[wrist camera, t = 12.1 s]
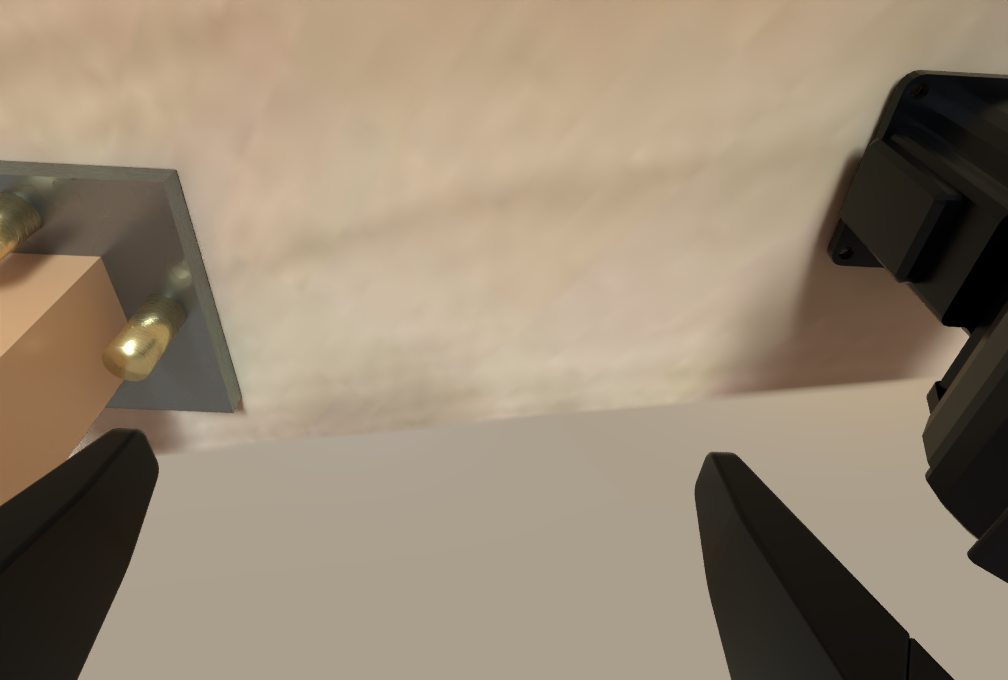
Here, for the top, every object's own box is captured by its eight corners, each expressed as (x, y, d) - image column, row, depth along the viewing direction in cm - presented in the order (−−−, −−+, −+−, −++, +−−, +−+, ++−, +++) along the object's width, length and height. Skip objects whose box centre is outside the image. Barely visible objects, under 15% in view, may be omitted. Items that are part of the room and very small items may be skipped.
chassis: (175, 169, 21) (116, 227, 18) (241, 396, 27) (206, 468, 24) (-145, 153, 20) (-263, 208, 17) (-2, 386, 27) (-69, 457, 24)
